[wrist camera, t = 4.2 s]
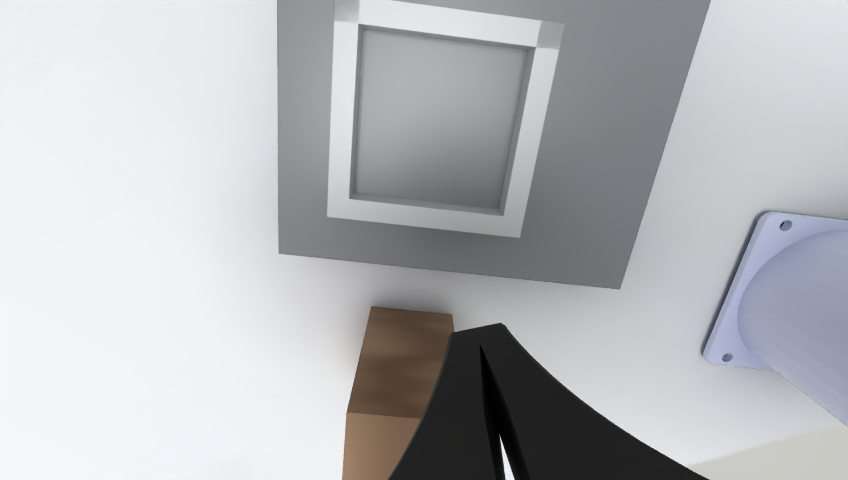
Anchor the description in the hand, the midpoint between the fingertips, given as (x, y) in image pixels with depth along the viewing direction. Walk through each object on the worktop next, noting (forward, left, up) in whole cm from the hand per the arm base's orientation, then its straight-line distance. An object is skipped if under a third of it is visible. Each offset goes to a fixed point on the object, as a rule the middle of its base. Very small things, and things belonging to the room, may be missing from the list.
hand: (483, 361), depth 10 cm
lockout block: (+2, +6, -9) cm, 11 cm away
